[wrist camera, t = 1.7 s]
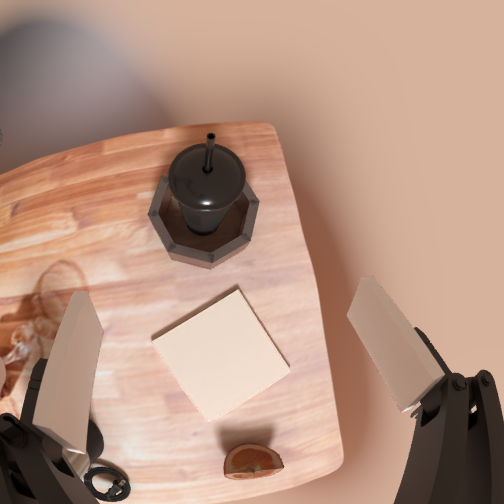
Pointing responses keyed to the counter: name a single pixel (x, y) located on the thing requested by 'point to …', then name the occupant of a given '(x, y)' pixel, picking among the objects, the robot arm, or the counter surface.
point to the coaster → (221, 356)
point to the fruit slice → (251, 462)
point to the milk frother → (85, 460)
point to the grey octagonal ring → (194, 256)
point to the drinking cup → (206, 184)
